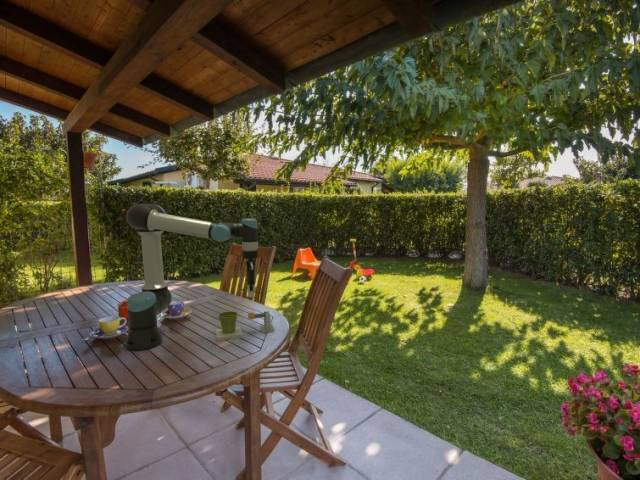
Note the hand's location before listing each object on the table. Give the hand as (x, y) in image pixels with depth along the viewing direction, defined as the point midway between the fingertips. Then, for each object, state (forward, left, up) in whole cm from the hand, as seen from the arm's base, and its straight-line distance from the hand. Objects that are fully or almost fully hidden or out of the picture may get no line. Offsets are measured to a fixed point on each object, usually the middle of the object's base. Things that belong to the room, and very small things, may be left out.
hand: (251, 296), depth 171 cm
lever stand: (+8, 0, -18) cm, 20 cm away
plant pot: (-11, +1, -17) cm, 20 cm away
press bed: (-11, 0, -18) cm, 21 cm away
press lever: (+4, 0, -11) cm, 12 cm away
